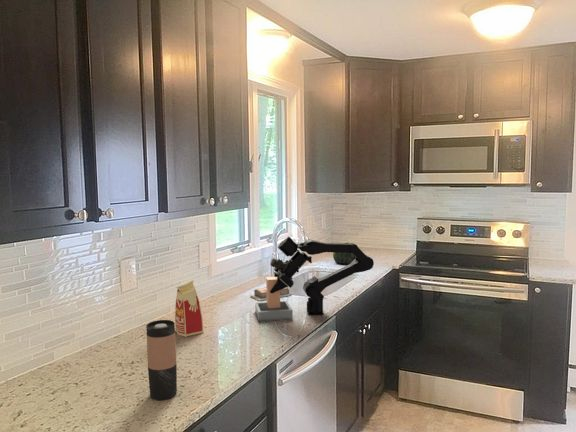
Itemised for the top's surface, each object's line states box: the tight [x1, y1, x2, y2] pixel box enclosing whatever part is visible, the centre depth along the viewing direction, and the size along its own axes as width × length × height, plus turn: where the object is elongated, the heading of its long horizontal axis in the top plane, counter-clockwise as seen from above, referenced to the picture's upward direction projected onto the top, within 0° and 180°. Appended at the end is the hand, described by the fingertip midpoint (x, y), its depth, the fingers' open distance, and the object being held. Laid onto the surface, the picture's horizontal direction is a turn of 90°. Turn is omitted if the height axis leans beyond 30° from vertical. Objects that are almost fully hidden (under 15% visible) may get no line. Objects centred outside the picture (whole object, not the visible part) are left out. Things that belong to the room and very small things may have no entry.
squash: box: [332, 252, 355, 266], centre depth 307 cm, size 14×15×15 cm
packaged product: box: [249, 286, 293, 302], centre depth 231 cm, size 18×5×10 cm
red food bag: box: [174, 279, 205, 337], centre depth 180 cm, size 9×9×20 cm
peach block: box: [265, 276, 281, 308], centre depth 199 cm, size 5×5×12 cm
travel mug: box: [145, 319, 178, 401], centre depth 129 cm, size 8×8×20 cm
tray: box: [254, 300, 294, 323], centre depth 200 cm, size 14×14×4 cm
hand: (269, 291), depth 199 cm, fingers closed on peach block, 5 cm apart
